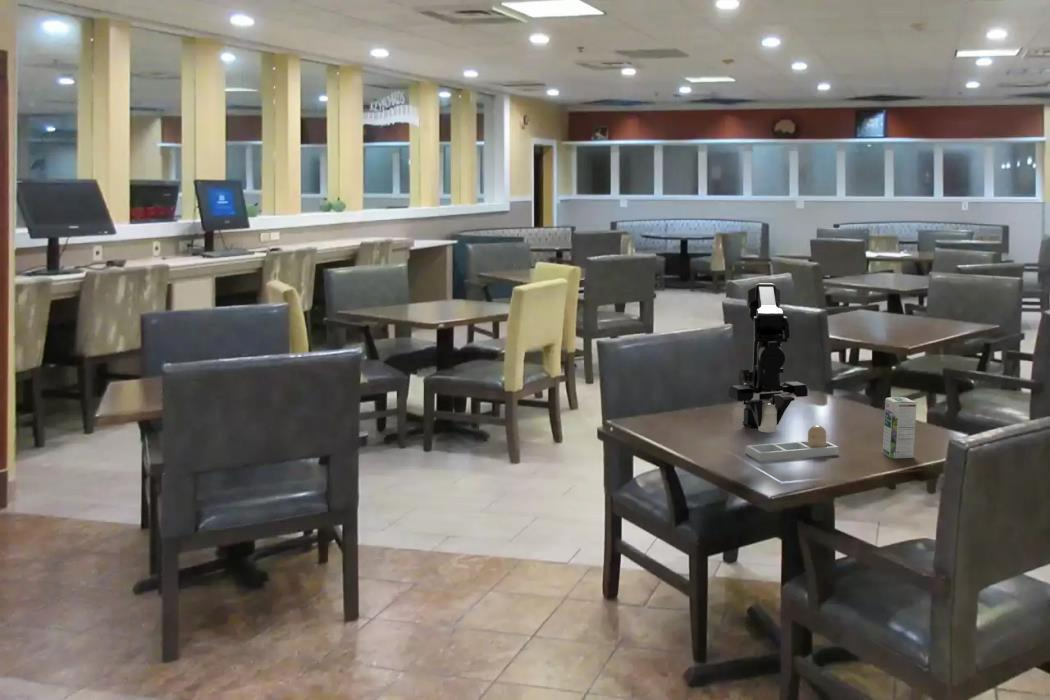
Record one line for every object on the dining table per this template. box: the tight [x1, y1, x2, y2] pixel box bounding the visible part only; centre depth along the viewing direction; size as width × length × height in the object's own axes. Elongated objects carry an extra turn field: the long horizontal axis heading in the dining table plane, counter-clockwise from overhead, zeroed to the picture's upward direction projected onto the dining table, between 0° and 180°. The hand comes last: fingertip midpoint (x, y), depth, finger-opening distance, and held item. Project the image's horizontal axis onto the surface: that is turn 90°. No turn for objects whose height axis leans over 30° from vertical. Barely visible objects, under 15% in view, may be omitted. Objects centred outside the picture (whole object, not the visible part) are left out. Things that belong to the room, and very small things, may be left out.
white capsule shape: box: [757, 403, 778, 433], centre depth 255 cm, size 4×4×7 cm
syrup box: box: [882, 396, 918, 459], centre depth 255 cm, size 6×6×14 cm
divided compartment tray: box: [745, 440, 840, 462], centre depth 258 cm, size 21×8×2 cm, turn 104°
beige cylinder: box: [807, 424, 827, 448], centre depth 259 cm, size 4×4×7 cm
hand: (767, 425), depth 255 cm, fingers closed on white capsule shape, 4 cm apart
